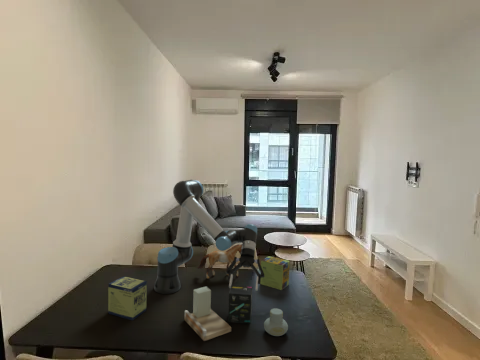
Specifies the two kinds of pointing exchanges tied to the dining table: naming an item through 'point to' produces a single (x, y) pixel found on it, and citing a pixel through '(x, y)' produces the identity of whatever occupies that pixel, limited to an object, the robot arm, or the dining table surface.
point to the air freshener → (276, 323)
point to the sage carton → (201, 301)
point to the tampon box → (240, 304)
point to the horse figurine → (220, 258)
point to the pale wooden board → (207, 325)
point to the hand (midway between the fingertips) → (243, 288)
